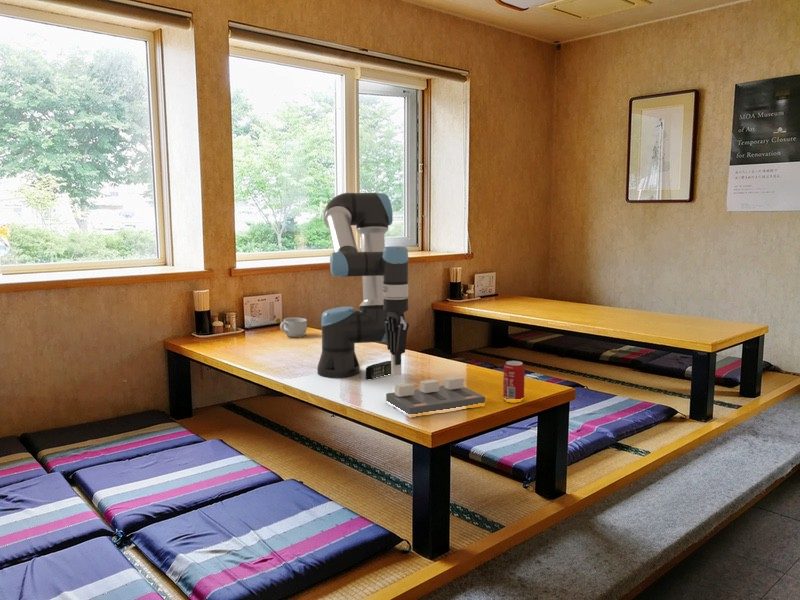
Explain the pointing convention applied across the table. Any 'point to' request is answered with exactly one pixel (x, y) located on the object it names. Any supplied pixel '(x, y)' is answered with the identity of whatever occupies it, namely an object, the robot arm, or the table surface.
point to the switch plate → (435, 400)
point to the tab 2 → (429, 386)
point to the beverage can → (513, 380)
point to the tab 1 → (404, 389)
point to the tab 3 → (453, 382)
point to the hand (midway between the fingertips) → (396, 374)
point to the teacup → (294, 326)
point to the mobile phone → (378, 370)
